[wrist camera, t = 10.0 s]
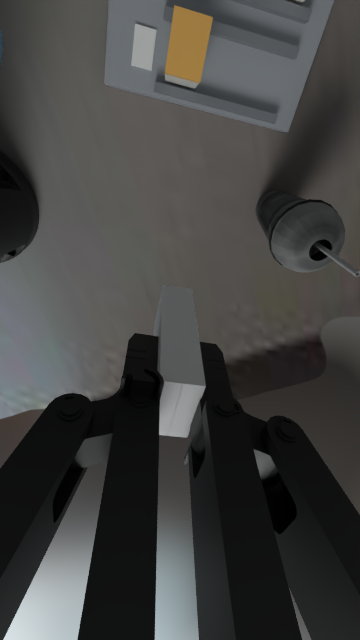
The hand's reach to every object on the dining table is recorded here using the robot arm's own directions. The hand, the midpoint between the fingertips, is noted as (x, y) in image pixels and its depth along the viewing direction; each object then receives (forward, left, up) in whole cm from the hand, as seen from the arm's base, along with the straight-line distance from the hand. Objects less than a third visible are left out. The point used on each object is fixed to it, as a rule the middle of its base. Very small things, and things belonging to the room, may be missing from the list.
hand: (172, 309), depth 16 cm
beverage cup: (+14, +1, -29) cm, 32 cm away
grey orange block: (-1, +13, -25) cm, 28 cm away
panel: (+2, +17, -28) cm, 33 cm away
